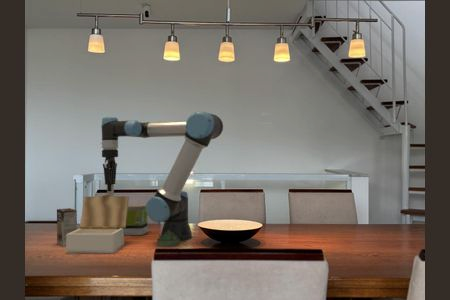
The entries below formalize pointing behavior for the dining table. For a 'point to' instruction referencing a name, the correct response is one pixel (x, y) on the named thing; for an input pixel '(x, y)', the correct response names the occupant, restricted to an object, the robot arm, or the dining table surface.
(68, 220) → the coffee box
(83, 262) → the dining table surface
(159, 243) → the decorative artifact
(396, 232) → the dining table surface
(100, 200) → the lid
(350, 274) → the dining table surface
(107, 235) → the chest
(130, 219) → the tea box
